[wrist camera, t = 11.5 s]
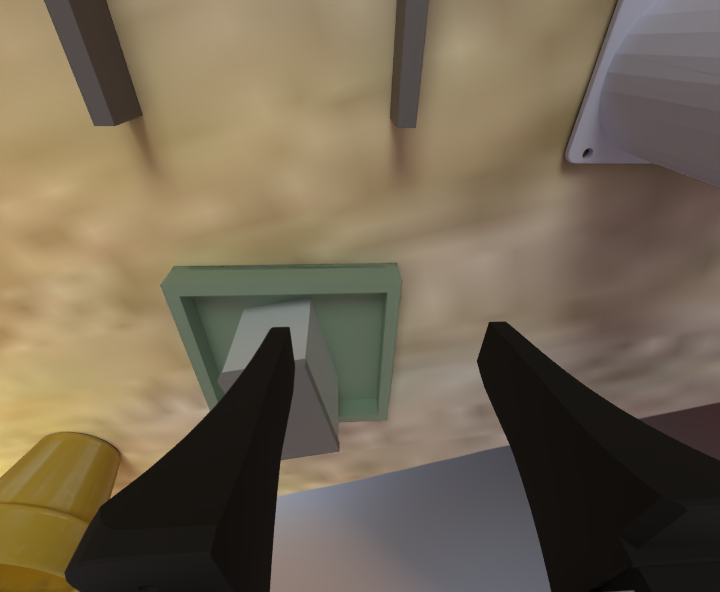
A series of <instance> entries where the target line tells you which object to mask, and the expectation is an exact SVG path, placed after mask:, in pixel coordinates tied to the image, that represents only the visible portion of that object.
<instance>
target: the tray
mask: <svg viewBox="0 0 720 592" xmlns="http://www.w3.org/2000/svg"><path fill="white" fill-rule="evenodd" d="M401 285H402V280H401V276H400V272H399V269H398V265H397V263H382V264H313V265H244V266H175V267H173V268H172V270H171V271H170V273H169V274H168V275H167V277H166V278H165V280H164V281H163V282H162V284H161V285H160V286H161V288H162V291H163V293H164V296H165V298H166V301H167V303H168V306H169V308H170V311H171V313H172V316H173V318H174V321H175V323H176V326H177V329H178V331H179V334H180V336H181V339H182V341H183V344H184V346H185V349H186V351H187V354H188V356H189V359H190V361H191V364H192V366H193V369H194V371H195V374H196V376H197V379H198V381H199V384H200V386H201V389H202V392H203V394H204V397H205V399H206V402H207V404H208V407H209V409H210V411H211V410H212V409H213V408H214V407H215V405H216V404H217V403H218V402H219V401H220V400H221V399H222V397H223V396H224V395H225V393H224V392H223V390H222V389H221V387H220V386H219V384H218V383H217V381H218V378H219V375H220V373H222V371H223V368H224V365H225V362H226V359H227V357H228V354H229V351H230V348H231V345H232V342H233V339H234V336H235V334H236V331H237V328H238V325H239V322H240V319H241V316H242V313H243V311H244V309H248V308H254V307H260V306H265V305H271V304H276V303H282V302H287V301H293V300H298V299H304V298H309V297H311V298H312V301H313V304H314V307H315V310H316V313H317V316H318V319H319V322H320V325H321V328H322V331H323V334H324V337H325V340H326V343H327V346H328V349H329V352H330V355H331V358H332V361H333V364H334V367H335V370H336V373H337V376H338V422H355V421H380V420H387V418H388V409H389V399H390V390H391V380H392V371H393V361H394V352H395V342H396V333H397V323H398V313H399V304H400V294H401Z"/></svg>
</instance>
